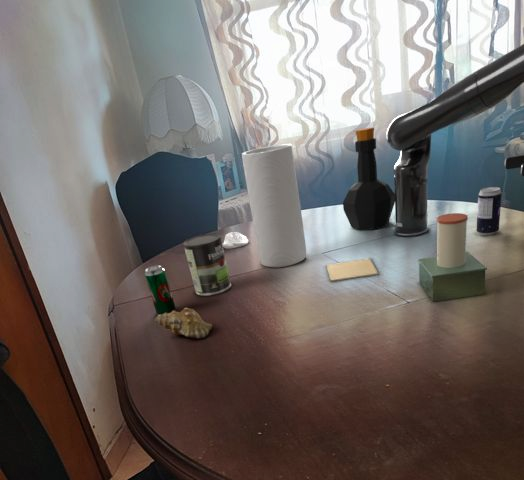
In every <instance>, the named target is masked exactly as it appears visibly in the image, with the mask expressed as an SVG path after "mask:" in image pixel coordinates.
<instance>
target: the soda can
mask: <svg viewBox="0 0 524 480" xmlns="http://www.w3.org/2000/svg"><path fill="white" fill-rule="evenodd" d="M144 278H145V281H146V284H147V287H148V291H149V294H150V296H151V301H152V304H153V306H154V309H155V313H156V315H160V314H164V313H171V312H172V311H173V310H174V311H176V308H177V307H176V304H175V302H174V301H175V300H174V297H173V294H172V291H171V286H170V283H169V280H168V277H167V273H166V270H165V268H163V265H161V264H159V265H157V264H156V265H152V266H149V267H147V268H145V270H144Z"/></svg>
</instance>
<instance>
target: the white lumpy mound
mask: <svg viewBox="0 0 524 480" xmlns="http://www.w3.org/2000/svg"><path fill="white" fill-rule="evenodd" d="M248 243H249V239H248V237H247V236H246V235H243V234H242V233H241V232H238V231H231V232H228V233H226V234H225V236H224V240H223V242H222V245H223V249H234V248H235V249H236V248H240V247H244V246H246V245H248Z"/></svg>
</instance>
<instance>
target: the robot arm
mask: <svg viewBox="0 0 524 480" xmlns="http://www.w3.org/2000/svg"><path fill="white" fill-rule="evenodd" d="M523 84H524V43H523V44H521V45H520V46H518V47H516V48H514V49H512V50H510V51H508V52H507V53H505V54H503V55H502V56H500V57H498V58H497V59H494V60H493V61H491V62H490V63H488V64H486V65H484V66H482V67H481V68H479V69H477V70H475V71H474V72H472V73H471V74H469V75H467V76H465V77H464V78H462V79H461V80H459V81H458V82H456V83H455V84H453V85H452V86H450V87H449V88H447V89H446V90H444V91H443V92H441V93H440V94H439V95H437V96H436V97H434V98H433V99H431V100H430V101H427V103H425V104H423V105H421V106H418V107H417V108H414V109H413V110H410V111H408V112H406V113H403V114H401V115H398V116H397V117H395V118H394V119H393V120H392V121H391V123H389V126H388V128H387V131H386V141H387V144H388V145H389V147H390V148H391V149H393V150H395V151H398V152H400V155H399V158H398V160H397V162H396V163H395V165H394V167H393V179H394V181H393V182H394V184H393V185H394V193H395V203H394V210H395V211H394V214H395V234H396V235H397V236H400V237H415V236H420V235H423V234H425V233H427V232H428V230H429V228H428V166H429V163H430V161H431V153H432V152H431V151H432V134H434V133H436V132H438V131H440V130H442V129H445V128H448V127H452V126H454V125H457V124H459V123H462V122H464V121H467V120H469V119H471V118H474V117H477V116H479V115H481V114H482V113H484V112H487V111H488V110H490V109H492V108H495V107H496V106H498V105H499V104H501V103H503V102H504V101H506V100H507V99H508V98H509V97H510V96H511V95H513V93H515V92H516V91H517V90H518V88H520V87H521V86H522V85H523ZM519 168H520V172H519V173H520V176H521V177H522V178H523V177H524V154H520V155H519V154H518V155H514V156H507V157H505V158H504V169H505V170H513V169H519Z"/></svg>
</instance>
